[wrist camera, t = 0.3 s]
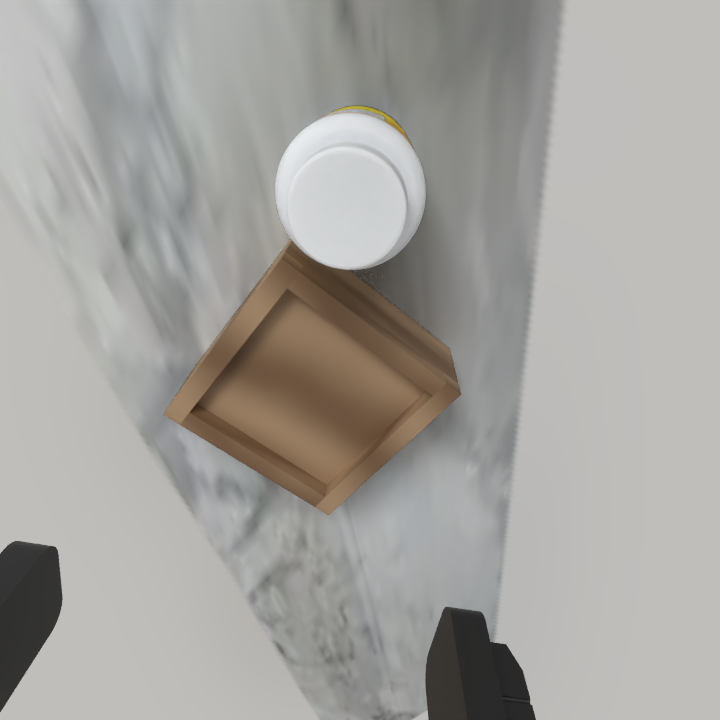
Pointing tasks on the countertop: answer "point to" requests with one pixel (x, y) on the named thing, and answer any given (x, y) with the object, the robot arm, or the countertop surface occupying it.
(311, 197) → the supplement bottle
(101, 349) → the countertop surface
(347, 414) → the walnut tray
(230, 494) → the countertop surface
